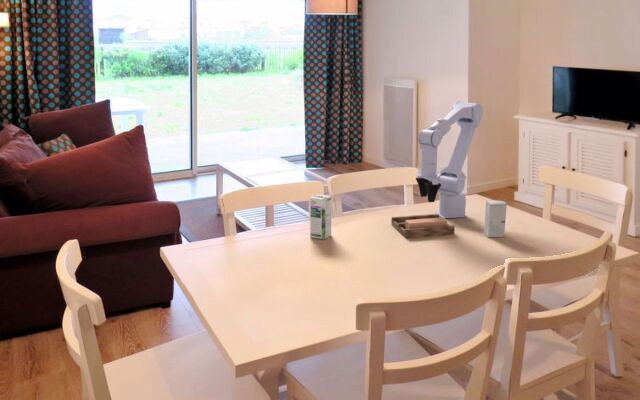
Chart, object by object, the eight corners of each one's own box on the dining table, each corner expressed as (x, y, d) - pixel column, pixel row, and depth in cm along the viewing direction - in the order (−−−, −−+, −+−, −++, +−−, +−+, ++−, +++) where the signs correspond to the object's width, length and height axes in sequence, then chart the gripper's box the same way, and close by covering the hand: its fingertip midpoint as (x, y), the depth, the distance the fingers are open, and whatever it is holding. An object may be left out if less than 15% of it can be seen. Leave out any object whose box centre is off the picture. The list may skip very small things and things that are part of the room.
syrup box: (309, 237, 227) (309, 197, 224) (317, 232, 232) (317, 193, 229) (324, 240, 225) (323, 199, 221) (332, 235, 230) (331, 195, 226)
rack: (437, 221, 244) (437, 213, 243) (454, 234, 230) (454, 226, 229) (391, 224, 241) (391, 217, 240) (405, 238, 226) (405, 229, 225)
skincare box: (488, 237, 226) (490, 204, 222) (483, 233, 230) (485, 200, 227) (505, 236, 226) (507, 203, 223) (499, 232, 231) (502, 199, 228)
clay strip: (442, 226, 235) (442, 217, 234) (446, 230, 231) (447, 220, 230) (405, 229, 232) (405, 220, 231) (408, 233, 228) (409, 223, 227)
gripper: (411, 159, 241) (410, 194, 245) (425, 167, 228) (424, 205, 231) (429, 158, 243) (428, 193, 247) (444, 166, 229) (443, 203, 233)
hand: (427, 199), depth 239 cm, fingers open, 7 cm apart
